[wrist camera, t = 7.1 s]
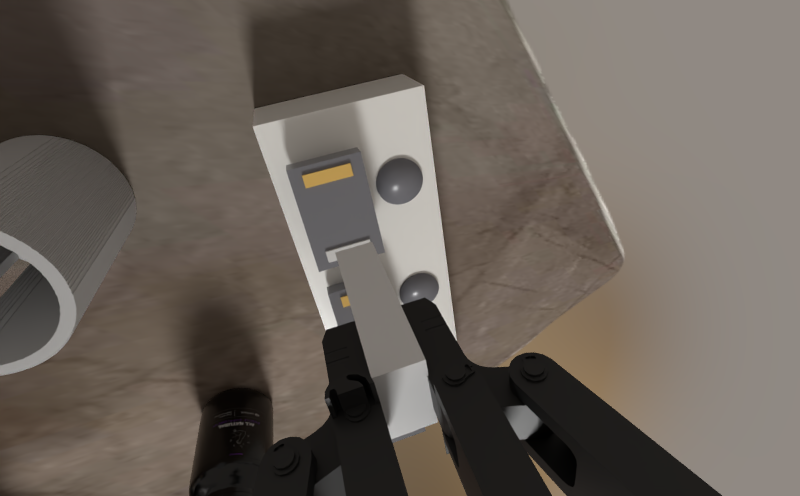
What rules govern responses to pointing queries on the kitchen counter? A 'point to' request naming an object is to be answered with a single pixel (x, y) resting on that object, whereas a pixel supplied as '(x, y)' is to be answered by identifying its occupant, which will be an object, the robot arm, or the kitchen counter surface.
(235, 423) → the supplement bottle
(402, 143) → the power strip
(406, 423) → the robot arm
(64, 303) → the cup
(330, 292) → the rocker
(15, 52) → the kitchen counter surface
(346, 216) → the plate
